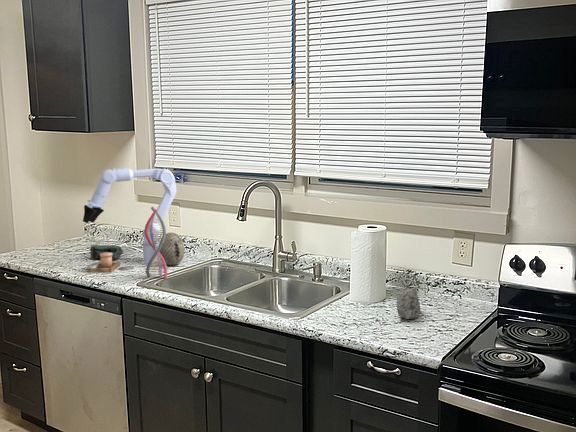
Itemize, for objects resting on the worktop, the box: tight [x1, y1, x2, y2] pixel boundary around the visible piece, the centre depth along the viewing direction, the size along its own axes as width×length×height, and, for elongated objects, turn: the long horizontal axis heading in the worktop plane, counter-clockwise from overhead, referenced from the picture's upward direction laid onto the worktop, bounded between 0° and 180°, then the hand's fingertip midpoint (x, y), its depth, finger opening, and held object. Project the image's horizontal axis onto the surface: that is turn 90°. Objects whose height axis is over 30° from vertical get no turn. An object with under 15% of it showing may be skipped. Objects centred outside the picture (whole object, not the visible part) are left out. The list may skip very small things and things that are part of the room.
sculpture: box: [89, 244, 124, 261], centre depth 299 cm, size 12×8×15 cm
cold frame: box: [85, 260, 121, 274], centre depth 281 cm, size 11×13×2 cm
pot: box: [100, 252, 113, 268], centre depth 280 cm, size 5×5×7 cm
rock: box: [396, 287, 421, 320], centre depth 217 cm, size 15×8×10 cm, turn 142°
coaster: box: [118, 265, 135, 272], centre depth 281 cm, size 7×7×1 cm
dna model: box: [143, 206, 168, 279], centre depth 264 cm, size 9×9×30 cm
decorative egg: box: [159, 232, 186, 266], centre depth 288 cm, size 12×12×15 cm
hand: (88, 222), depth 283 cm, fingers open, 7 cm apart
